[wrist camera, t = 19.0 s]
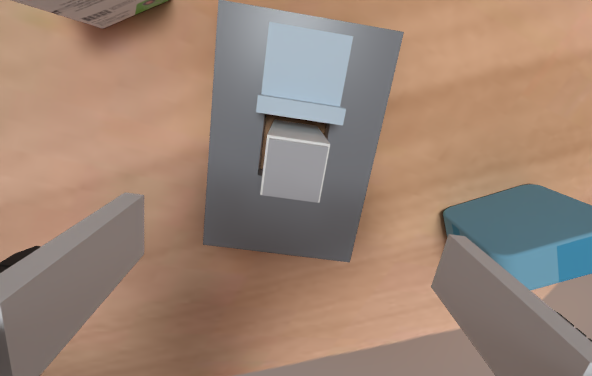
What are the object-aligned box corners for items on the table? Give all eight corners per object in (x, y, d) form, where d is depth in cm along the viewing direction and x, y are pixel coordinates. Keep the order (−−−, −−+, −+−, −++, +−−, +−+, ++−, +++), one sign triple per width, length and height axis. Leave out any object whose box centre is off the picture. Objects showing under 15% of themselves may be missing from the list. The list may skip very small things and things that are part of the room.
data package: (443, 239, 41) (503, 299, 29) (437, 209, 39) (498, 260, 28) (534, 212, 40) (633, 263, 28) (532, 181, 38) (635, 221, 27)
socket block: (209, 233, 40) (203, 244, 37) (224, 7, 32) (218, -1, 29) (345, 250, 41) (349, 262, 38) (393, 36, 33) (403, 32, 30)
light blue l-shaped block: (260, 109, 32) (255, 112, 28) (269, 23, 29) (266, 13, 25) (336, 120, 32) (343, 125, 28) (351, 37, 30) (361, 29, 26)
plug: (269, 161, 37) (259, 197, 25) (274, 119, 35) (266, 136, 23) (310, 167, 37) (320, 205, 25) (317, 125, 36) (331, 145, 24)
